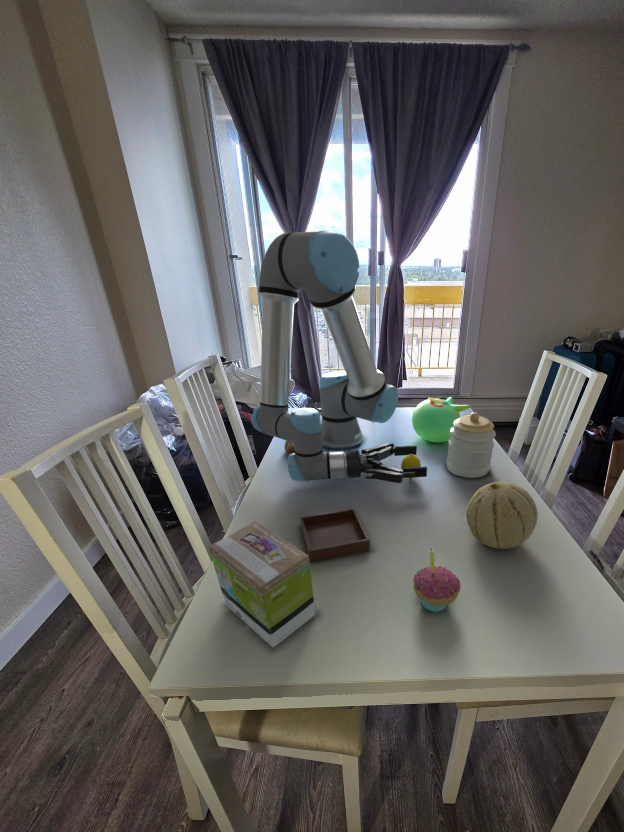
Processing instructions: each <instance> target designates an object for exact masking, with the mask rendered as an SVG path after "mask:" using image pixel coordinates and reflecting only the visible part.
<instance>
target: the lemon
mask: <svg viewBox="0 0 624 832" xmlns="http://www.w3.org/2000/svg"><path fill="white" fill-rule="evenodd" d="M409 467H422V465H421V460H420V458H419V457H418V456H417V455H413V454H410V455H404V457H403V459H402V461H401V464H400V469H401V470H403V468H409ZM415 478H416V477H414V478H408V479H409V480H412V479H415Z"/></svg>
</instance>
